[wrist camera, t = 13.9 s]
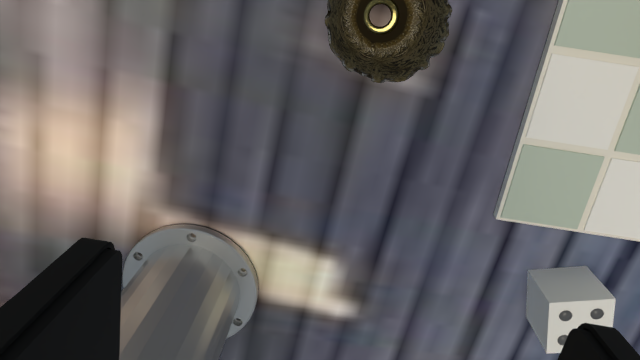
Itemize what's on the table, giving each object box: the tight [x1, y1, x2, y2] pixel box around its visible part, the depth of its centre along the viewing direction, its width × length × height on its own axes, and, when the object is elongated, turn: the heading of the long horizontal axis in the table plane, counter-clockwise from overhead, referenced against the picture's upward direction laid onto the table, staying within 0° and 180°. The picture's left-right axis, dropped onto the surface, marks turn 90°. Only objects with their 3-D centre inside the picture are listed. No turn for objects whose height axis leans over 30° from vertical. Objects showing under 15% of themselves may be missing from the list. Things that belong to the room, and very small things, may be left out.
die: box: [526, 266, 616, 353], centre depth 40 cm, size 5×5×5 cm
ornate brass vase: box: [325, 0, 452, 83], centre depth 31 cm, size 8×7×8 cm
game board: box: [493, 0, 640, 241], centre depth 36 cm, size 21×14×1 cm, turn 172°
